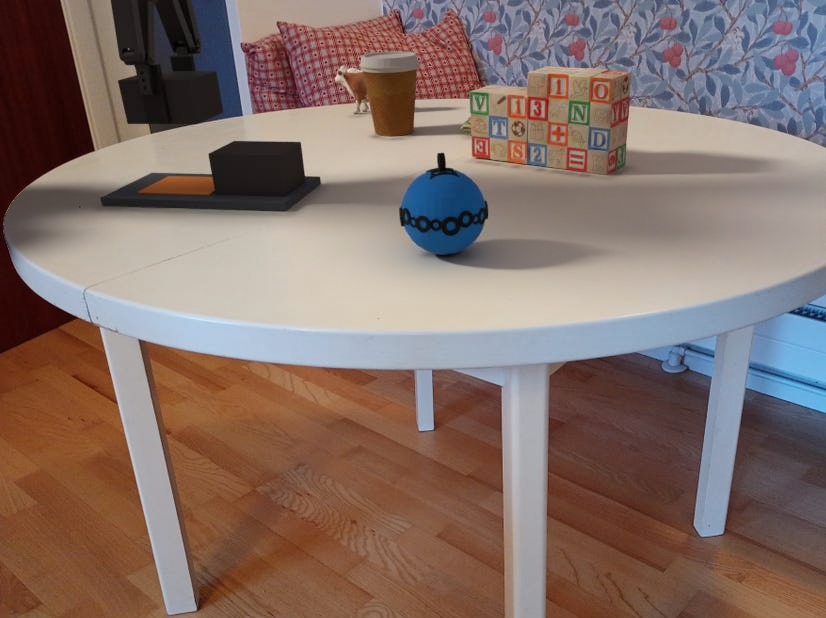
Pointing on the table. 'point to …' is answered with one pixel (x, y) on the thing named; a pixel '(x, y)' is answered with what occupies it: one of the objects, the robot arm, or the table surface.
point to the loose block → (177, 97)
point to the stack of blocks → (555, 120)
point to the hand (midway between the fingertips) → (176, 116)
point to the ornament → (443, 210)
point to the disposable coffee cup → (391, 90)
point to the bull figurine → (354, 85)
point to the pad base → (202, 201)
